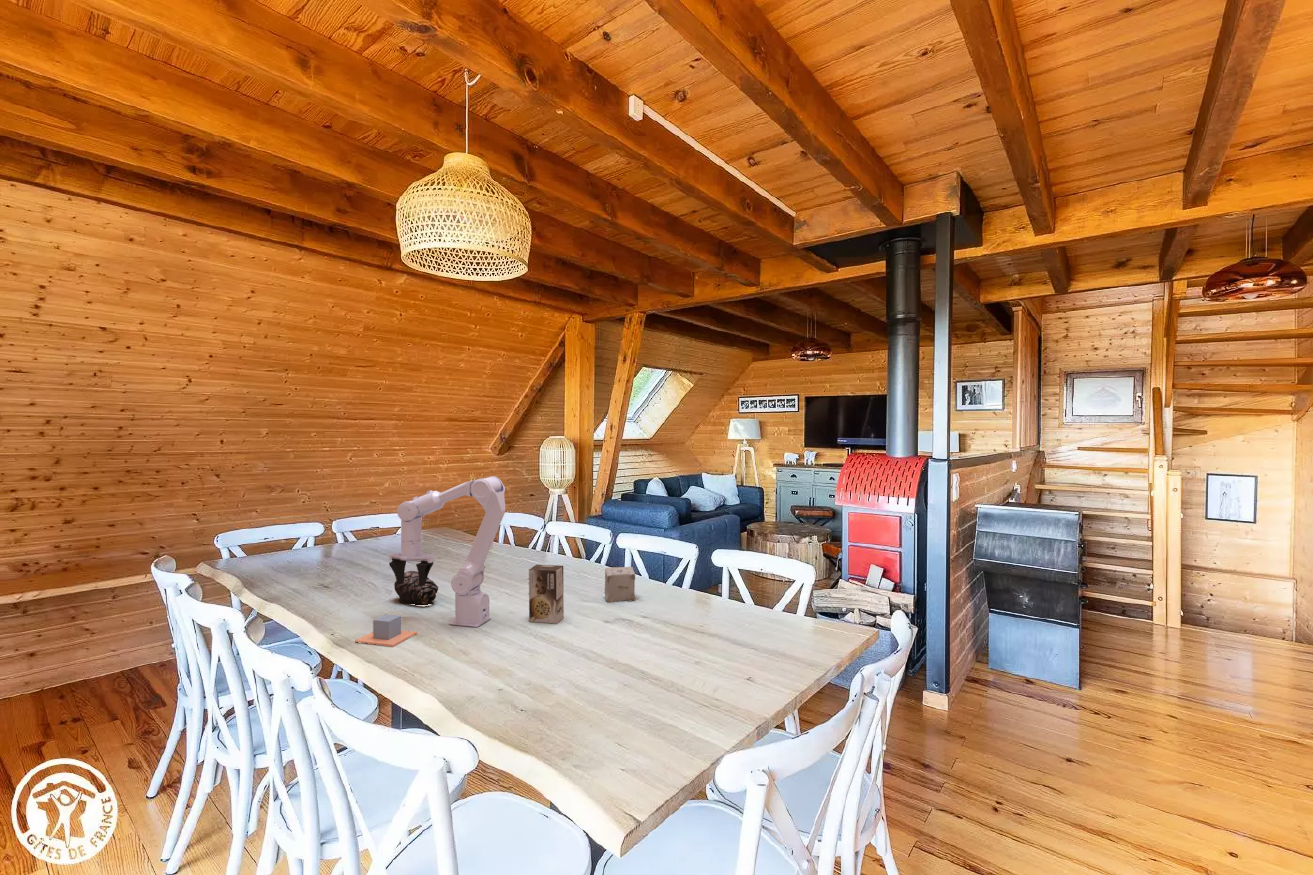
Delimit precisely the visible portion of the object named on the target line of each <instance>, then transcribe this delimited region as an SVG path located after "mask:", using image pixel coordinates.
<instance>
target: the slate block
mask: <svg viewBox="0 0 1313 875" xmlns="http://www.w3.org/2000/svg"><path fill="white" fill-rule="evenodd" d="M401 630H402V615H397V614H395V615H394V614H384V615H381V616H378V617H376V618H375V619H373V620H372V632H373V638H376V639H385V640H390V639H392V638H394V637H395V636H397V635H399V634H401Z"/></svg>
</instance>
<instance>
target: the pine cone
mask: <svg viewBox="0 0 1313 875" xmlns="http://www.w3.org/2000/svg"><path fill="white" fill-rule="evenodd" d="M393 586H394V592H395V593H396V595H398V597H399V598H398V599H397V602H399V603H401V604H404V605H407V604H415V605H428V604H433V605H434V604H435V603H432V601H433V602H434V601H435V599H436V597H437V594H438V591H439V586H438V585H437V584H436V582H435V581H433V580H432V579H430V578H429V576H427V580H426V584H425V585H424V586H419V575H418V570H408V571H404V583H402V584H400V585H398V584H397V580H396V579H395V582H394V584H393Z"/></svg>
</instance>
